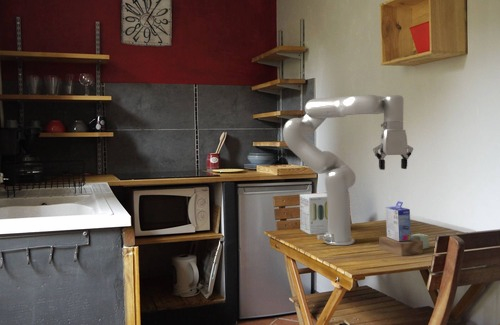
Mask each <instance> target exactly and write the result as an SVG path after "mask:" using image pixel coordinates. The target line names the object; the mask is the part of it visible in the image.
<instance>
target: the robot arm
mask: <svg viewBox="0 0 500 325" xmlns="http://www.w3.org/2000/svg"><path fill="white" fill-rule="evenodd" d="M304 112H305V114H304V115H303V116H302V117H293V118H290V119H288V120H287V121H286V122H285V124H284V125H283V132H282V136H283V140H284V143H285V145H286V146H287V147H288V149H289V150H290V151H292V153H293V154H295V156H297V157H298V158H299V159H300V160H301V161H302V162H303V163H304V164H305V165H306V166H308V168H309V169H310V170H312V172H314V173H316V174H318V175H321V174H325V175H326V176H325V179H324V181H325V182H324V184H325V185H324V186H325V191H326V192H325V193H327V209H328V232H326V233H323V234H316V237H317V240H324V244H328V245H329V246H330V245H331V246H348V245H353V244H355V238H353V237H351V236H352V233H351V232H352V231H351V198H350V192H349V188H351V187H352V186H354V184H355V182H356V174H355V171H354V170H353V169H352V168H351V167H350V166H349V165H348V164H346V163H345V162H344V161H343V160H342V159H341V158H340V157H339V156H337V155H336V154H334V153H333V152H331V151H327V150H325V151H323V150H321V149H320V148H318V147H317V146H316V145H315V144H314V143H313V142H312V141H311V140H308V138H306V137H308V136H311V135H312V134H314V132H315V131H317V129H318V128H319V127H320V126H321V125H322V124H323V123H324V122H325V121H326V119H330V118H344V117H346V116H353V115H355V116H356V115H380V114H383V123H380V127H381V128H383V129H382V130H381V134H380V141H379V145H377V146H375V147H374V148H372V151H373V153H374V156H375V157H376V158H377V160H378V168H379V170H382V171H385V169H386V161H385V158H386V156H398V155H399V156H400V157H401V160H400V161H401V162H400V163H401V164H400V168H401V170H402V169H404V170H407V168H408V160H409V158H410V156H411V155H412V153H413V151H414V147H412V146H410V145H409V144H408V139H407V133H406V129H404V96H402V95H399V94H393V95H392V94H390V95H385V96H383V95H381V96H380V95H375V94H362V95H352V96H351V95H350V96H334V97H333V96H332V97H322V98H321V97H320V98H312V99H310V100H308V101H307V102H306V103H305V106H304Z"/></svg>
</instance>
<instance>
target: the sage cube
mask: <svg viewBox="0 0 500 325" xmlns="http://www.w3.org/2000/svg"><path fill="white" fill-rule="evenodd" d="M411 238H413V239H417V240H421V241H423V250H425V249H429V248H430V235H429V234H423V233H415V234H411Z"/></svg>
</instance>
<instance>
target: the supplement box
mask: <svg viewBox="0 0 500 325" xmlns="http://www.w3.org/2000/svg"><path fill="white" fill-rule="evenodd" d="M299 214H300V215H299V221H300V226H299V227H300V230H301V231H302V232H304V233H306V234H308V235H323V234H326V232H328V209H327V192H319V193H318V192H317V193H304V194H301V193H300V194H299Z"/></svg>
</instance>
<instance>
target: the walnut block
mask: <svg viewBox="0 0 500 325" xmlns="http://www.w3.org/2000/svg"><path fill="white" fill-rule="evenodd" d="M378 249H380V250H382V251H384V252H389V253H391V254H395V255H397V256H400V257H405V256H411V255H412V256H413V255H418V254H423V253H424V249H423V241H421V240H417V239H413V238H411V240H408V241H397V240H394V239H391V238H388V237H387V235H386V236H379V237H378Z"/></svg>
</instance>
